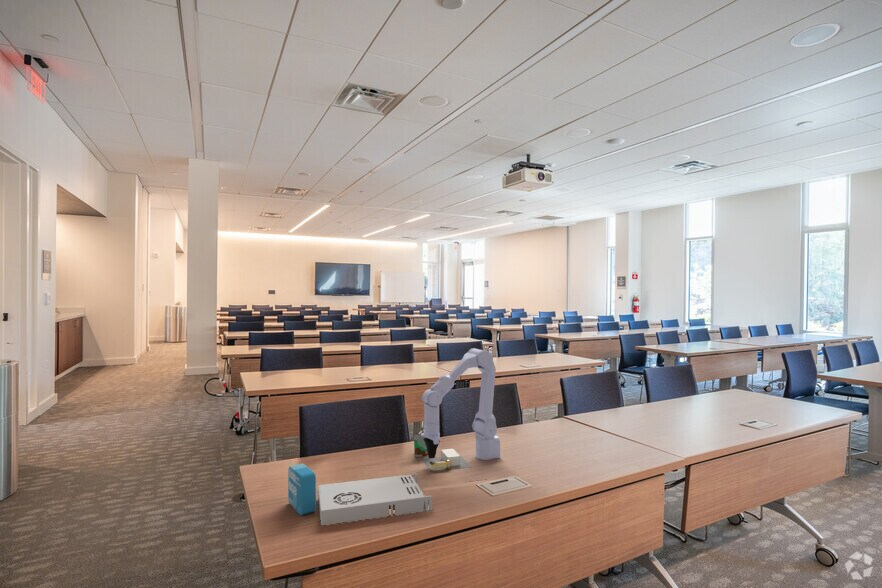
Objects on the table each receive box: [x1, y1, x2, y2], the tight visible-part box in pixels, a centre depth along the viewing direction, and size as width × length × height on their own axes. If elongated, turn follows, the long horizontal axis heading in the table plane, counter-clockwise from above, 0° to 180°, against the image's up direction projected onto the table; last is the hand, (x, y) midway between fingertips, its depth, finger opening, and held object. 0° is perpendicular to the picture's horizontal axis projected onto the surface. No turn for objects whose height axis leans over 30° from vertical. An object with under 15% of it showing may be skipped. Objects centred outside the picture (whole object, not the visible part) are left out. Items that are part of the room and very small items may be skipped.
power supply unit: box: [318, 473, 433, 526], centre depth 145 cm, size 19×33×5 cm, turn 107°
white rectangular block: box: [440, 448, 461, 466], centre depth 179 cm, size 5×9×4 cm, turn 16°
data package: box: [287, 463, 317, 516], centre depth 143 cm, size 12×4×12 cm, turn 37°
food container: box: [413, 426, 428, 458], centre depth 190 cm, size 12×6×10 cm, turn 168°
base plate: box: [421, 455, 472, 473], centre depth 178 cm, size 16×14×1 cm
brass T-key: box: [429, 459, 452, 470], centre depth 172 cm, size 8×3×3 cm, turn 106°
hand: (431, 457), depth 175 cm, fingers closed
